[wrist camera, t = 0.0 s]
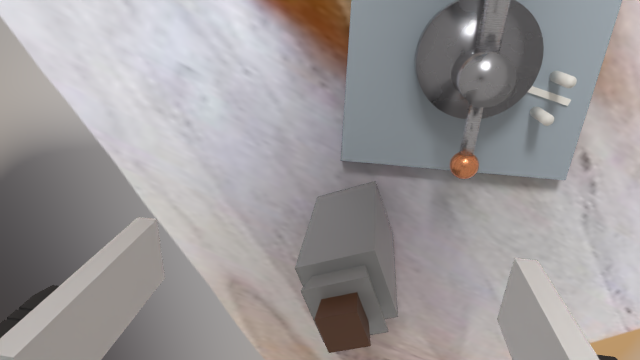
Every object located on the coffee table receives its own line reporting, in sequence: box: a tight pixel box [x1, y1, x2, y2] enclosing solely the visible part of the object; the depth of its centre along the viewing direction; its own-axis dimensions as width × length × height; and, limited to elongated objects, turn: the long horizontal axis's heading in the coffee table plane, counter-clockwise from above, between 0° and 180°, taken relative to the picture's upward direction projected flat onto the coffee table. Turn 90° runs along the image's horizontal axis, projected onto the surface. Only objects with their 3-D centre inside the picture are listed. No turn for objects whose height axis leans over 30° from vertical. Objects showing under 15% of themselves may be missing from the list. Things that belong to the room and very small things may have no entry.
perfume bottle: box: [295, 181, 398, 353], centre depth 37 cm, size 7×7×18 cm
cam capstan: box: [414, 0, 544, 179], centre depth 32 cm, size 20×10×7 cm, turn 177°
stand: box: [341, 0, 622, 180], centre depth 36 cm, size 20×22×4 cm
